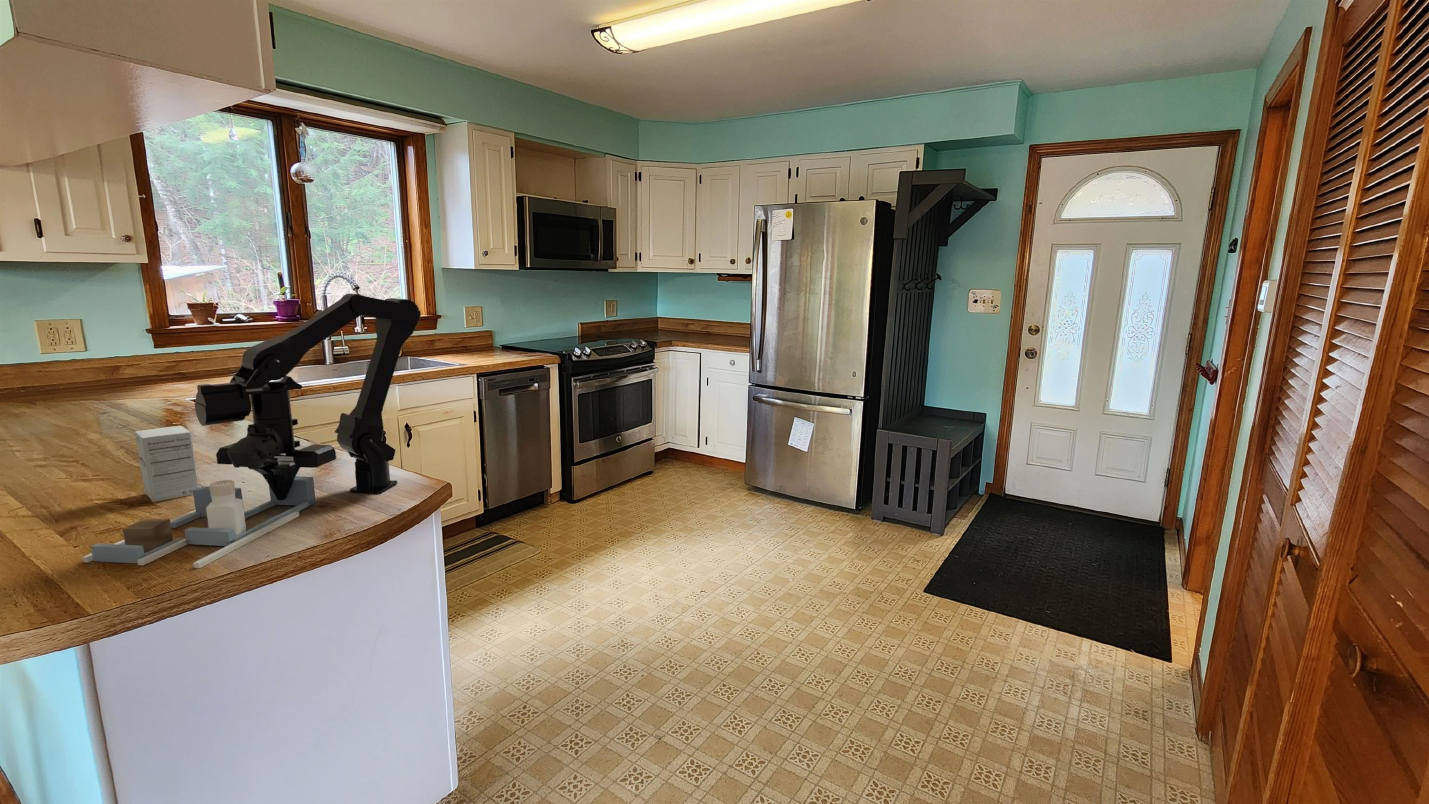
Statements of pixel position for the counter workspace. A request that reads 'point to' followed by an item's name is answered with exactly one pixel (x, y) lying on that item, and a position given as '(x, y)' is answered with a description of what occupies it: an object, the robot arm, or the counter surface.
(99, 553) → the broken strip
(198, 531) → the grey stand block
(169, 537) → the walnut cube
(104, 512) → the counter surface
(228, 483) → the pepper shaker
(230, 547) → the lane rails
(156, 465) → the supplement box
